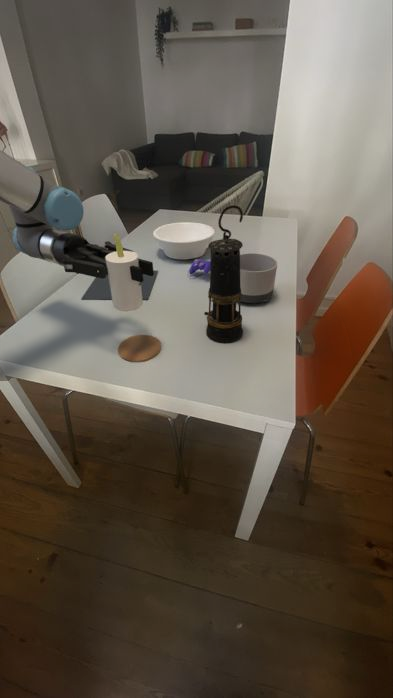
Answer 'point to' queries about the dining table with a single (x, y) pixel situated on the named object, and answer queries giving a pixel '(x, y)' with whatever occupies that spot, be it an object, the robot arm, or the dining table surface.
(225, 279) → the lantern
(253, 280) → the planter
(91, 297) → the placemat
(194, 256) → the bowl
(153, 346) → the coaster
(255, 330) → the dining table surface
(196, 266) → the game controller
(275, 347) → the dining table surface
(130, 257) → the candle
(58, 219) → the robot arm
